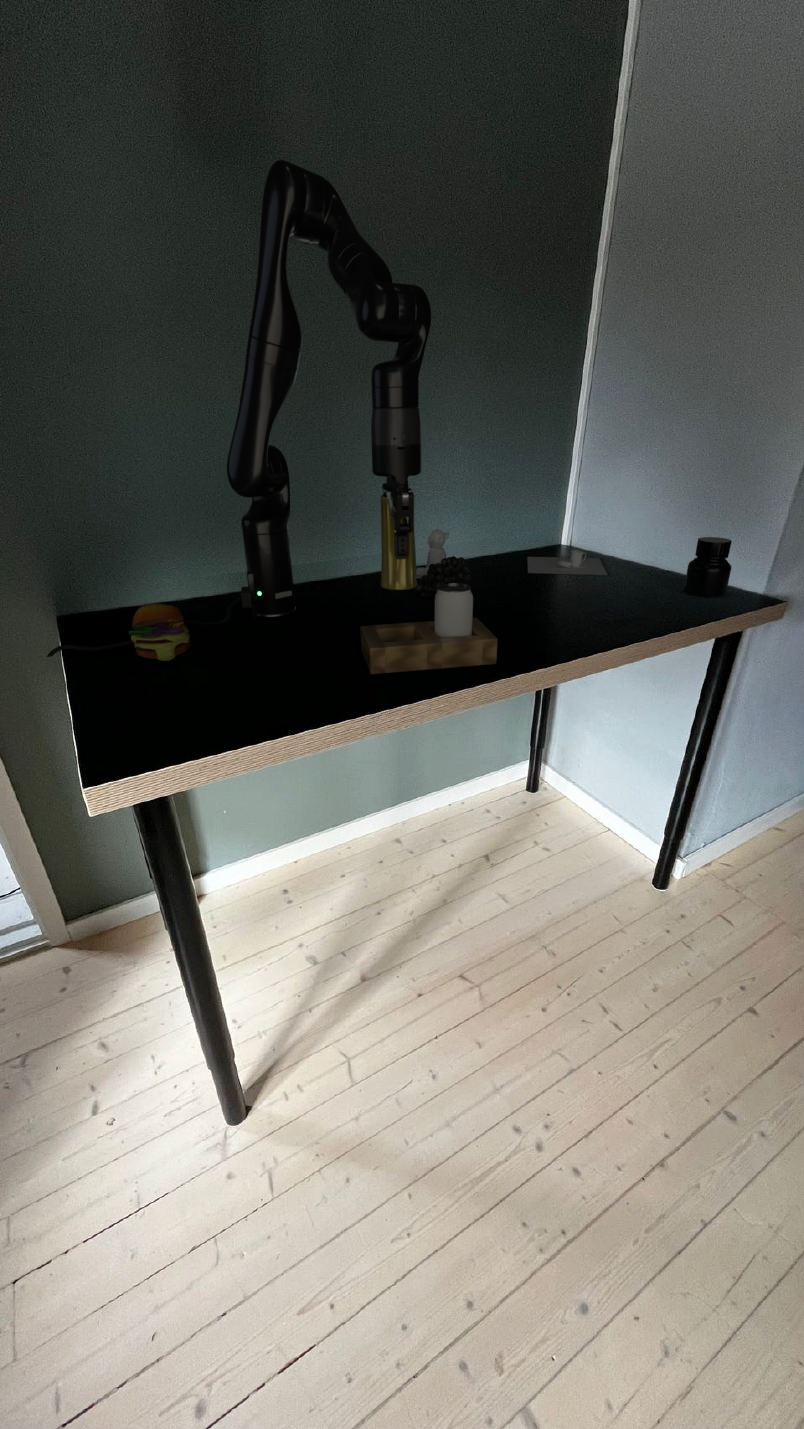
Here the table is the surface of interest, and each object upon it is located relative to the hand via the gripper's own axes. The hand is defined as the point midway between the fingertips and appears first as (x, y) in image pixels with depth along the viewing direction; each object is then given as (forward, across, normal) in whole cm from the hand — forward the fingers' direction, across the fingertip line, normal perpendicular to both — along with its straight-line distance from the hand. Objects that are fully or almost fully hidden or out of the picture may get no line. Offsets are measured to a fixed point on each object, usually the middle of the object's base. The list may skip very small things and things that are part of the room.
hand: (398, 554), depth 104 cm
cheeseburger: (+18, -13, -41) cm, 47 cm away
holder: (+18, 0, +5) cm, 19 cm away
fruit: (+18, -39, +17) cm, 46 cm away
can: (+18, 0, +10) cm, 21 cm away
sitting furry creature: (+18, -56, +20) cm, 62 cm away
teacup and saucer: (+18, -60, +57) cm, 84 cm away
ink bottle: (+18, -26, +76) cm, 82 cm away
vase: (+5, 0, 0) cm, 5 cm away
